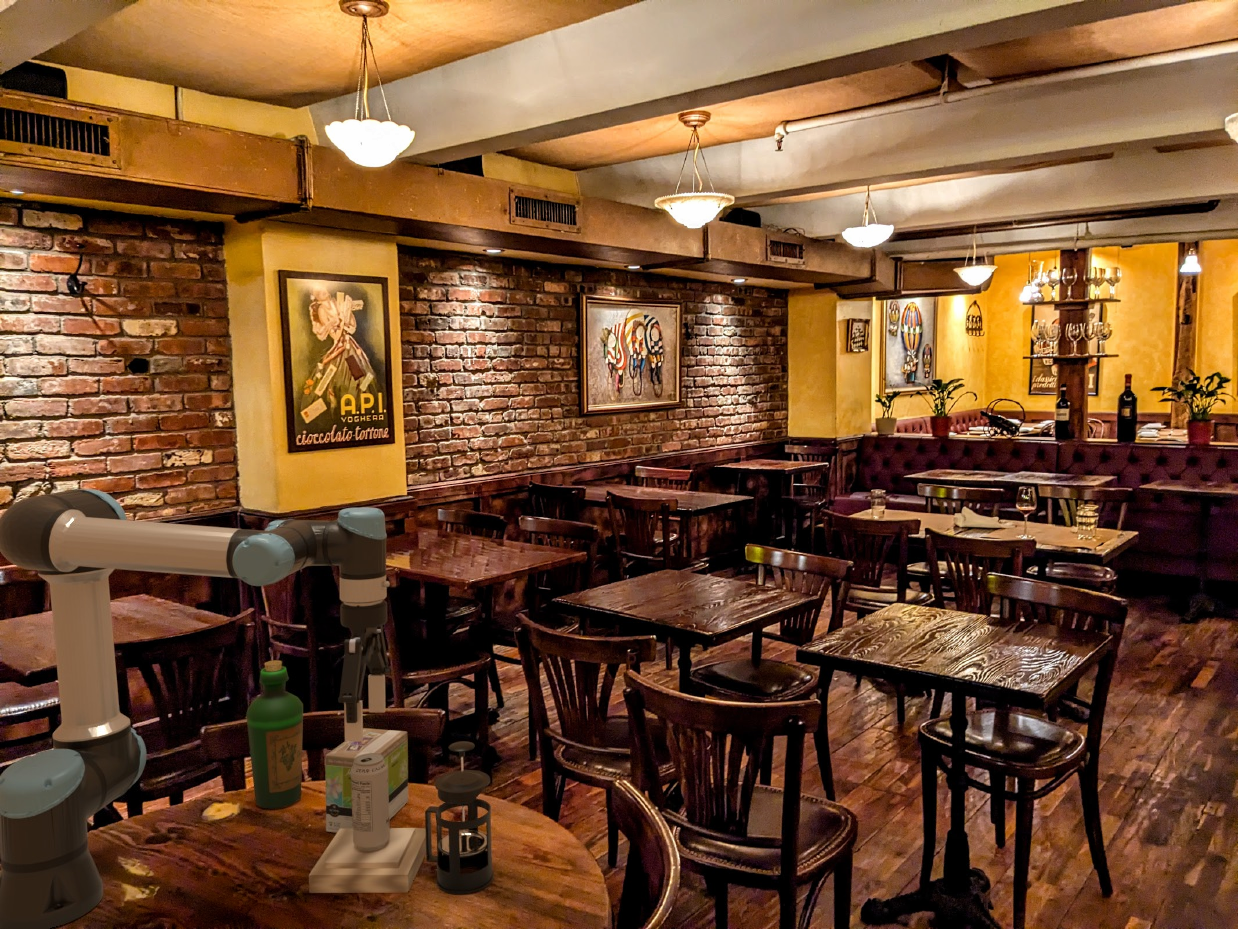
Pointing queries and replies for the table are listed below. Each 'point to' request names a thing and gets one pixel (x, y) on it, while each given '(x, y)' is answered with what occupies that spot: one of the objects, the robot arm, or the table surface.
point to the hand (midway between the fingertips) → (366, 725)
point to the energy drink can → (370, 802)
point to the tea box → (339, 774)
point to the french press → (461, 845)
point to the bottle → (275, 740)
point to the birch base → (369, 864)
